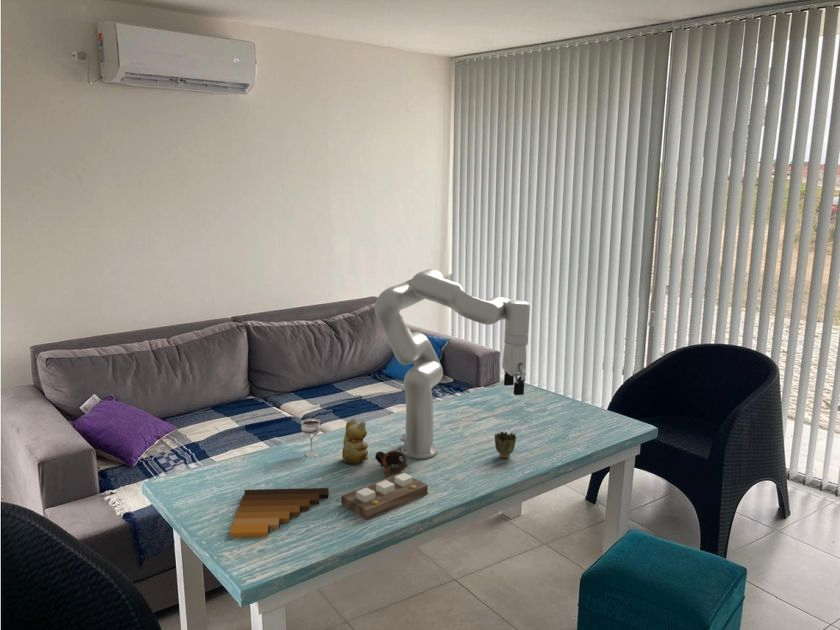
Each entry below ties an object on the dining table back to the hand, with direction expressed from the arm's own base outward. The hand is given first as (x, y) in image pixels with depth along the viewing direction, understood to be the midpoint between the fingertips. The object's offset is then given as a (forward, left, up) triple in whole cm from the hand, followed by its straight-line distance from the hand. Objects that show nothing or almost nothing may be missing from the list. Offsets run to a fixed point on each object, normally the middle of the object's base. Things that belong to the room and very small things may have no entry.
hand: (513, 389), depth 228 cm
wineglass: (-55, -42, -28) cm, 74 cm away
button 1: (-12, -52, -25) cm, 59 cm away
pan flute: (-25, -73, -29) cm, 82 cm away
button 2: (-12, -37, -25) cm, 47 cm away
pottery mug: (-26, -30, -28) cm, 49 cm away
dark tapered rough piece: (-8, +6, -28) cm, 30 cm away
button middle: (-12, -45, -25) cm, 53 cm away
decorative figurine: (-40, -35, -28) cm, 60 cm away
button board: (-12, -45, -28) cm, 54 cm away
